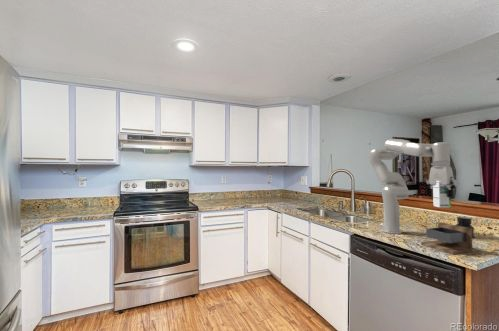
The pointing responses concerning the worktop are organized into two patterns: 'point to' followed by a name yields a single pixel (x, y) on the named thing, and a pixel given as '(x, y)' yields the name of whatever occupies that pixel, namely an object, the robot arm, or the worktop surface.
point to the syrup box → (441, 196)
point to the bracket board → (452, 247)
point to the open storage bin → (446, 234)
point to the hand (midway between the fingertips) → (441, 196)
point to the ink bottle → (465, 223)
